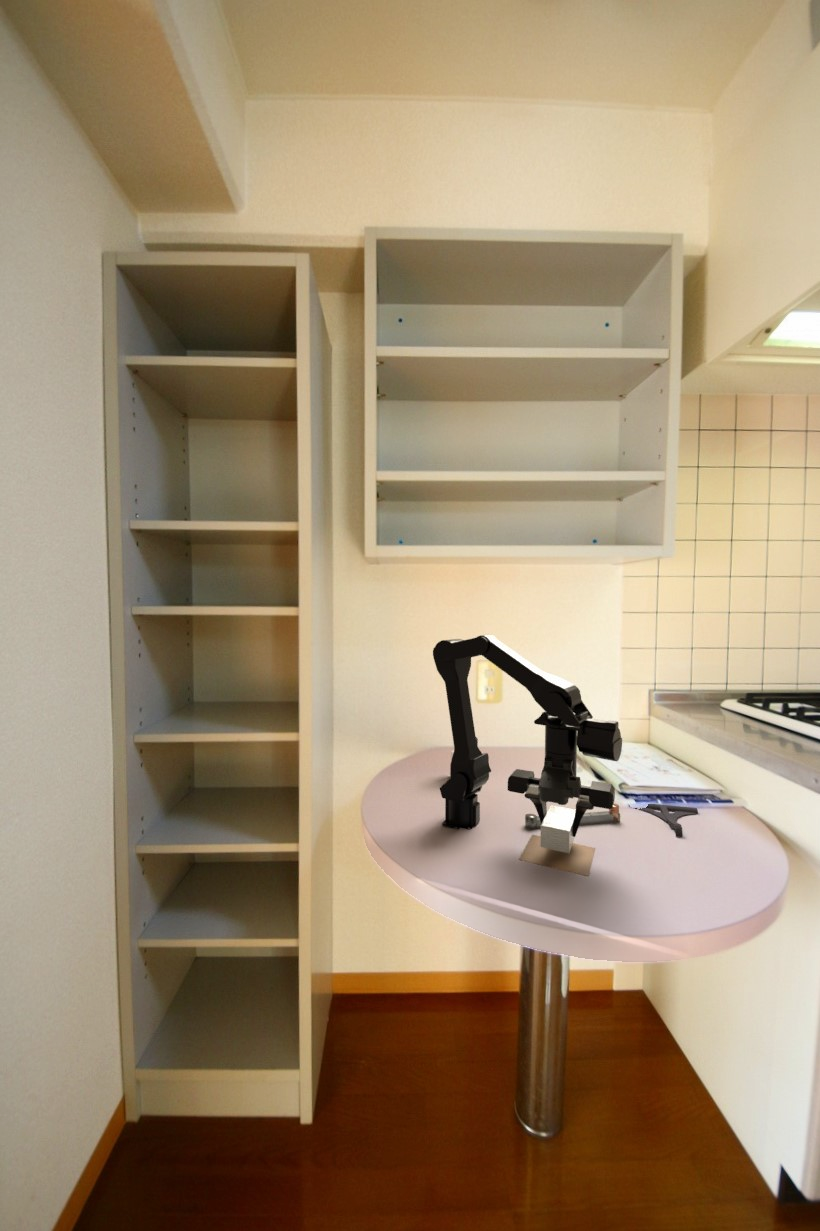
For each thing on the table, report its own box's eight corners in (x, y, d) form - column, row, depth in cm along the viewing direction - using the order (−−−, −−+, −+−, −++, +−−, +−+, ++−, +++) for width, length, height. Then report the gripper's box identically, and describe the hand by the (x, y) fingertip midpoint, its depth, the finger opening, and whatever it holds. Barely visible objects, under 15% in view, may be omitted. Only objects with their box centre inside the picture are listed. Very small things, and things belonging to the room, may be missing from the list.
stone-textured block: (540, 847, 89) (540, 825, 89) (550, 825, 98) (551, 805, 98) (569, 853, 87) (569, 830, 86) (577, 830, 95) (577, 809, 95)
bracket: (640, 835, 102) (640, 822, 101) (627, 807, 116) (628, 795, 116) (718, 845, 98) (719, 831, 98) (695, 814, 112) (695, 802, 112)
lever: (527, 831, 101) (528, 814, 101) (523, 826, 103) (523, 809, 103) (621, 824, 105) (621, 807, 105) (614, 819, 107) (614, 803, 107)
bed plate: (518, 862, 89) (518, 859, 89) (532, 837, 99) (532, 834, 99) (588, 879, 84) (588, 876, 84) (595, 851, 94) (595, 847, 94)
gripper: (500, 754, 89) (498, 840, 89) (611, 771, 80) (609, 865, 81) (515, 739, 99) (514, 816, 99) (615, 753, 90) (614, 836, 91)
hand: (559, 832), depth 92 cm, fingers closed on stone-textured block, 5 cm apart
